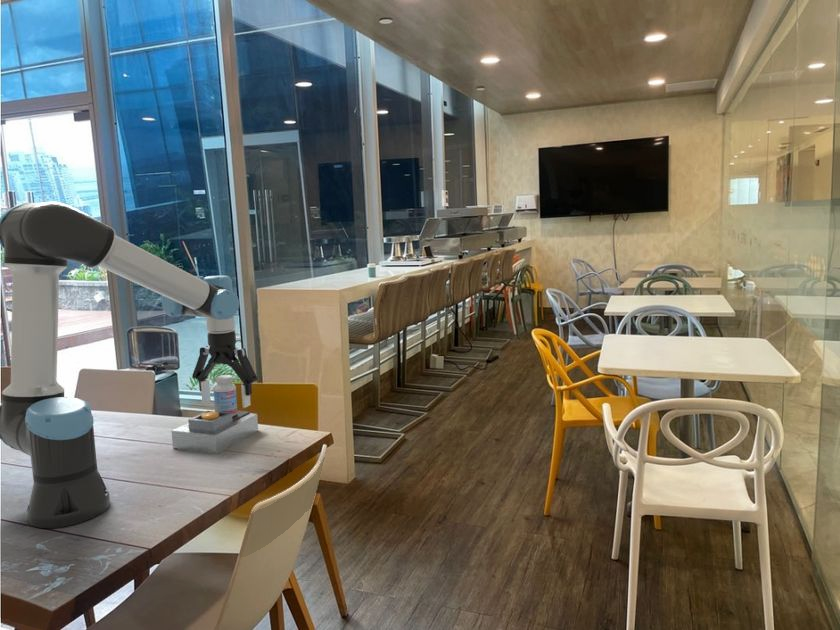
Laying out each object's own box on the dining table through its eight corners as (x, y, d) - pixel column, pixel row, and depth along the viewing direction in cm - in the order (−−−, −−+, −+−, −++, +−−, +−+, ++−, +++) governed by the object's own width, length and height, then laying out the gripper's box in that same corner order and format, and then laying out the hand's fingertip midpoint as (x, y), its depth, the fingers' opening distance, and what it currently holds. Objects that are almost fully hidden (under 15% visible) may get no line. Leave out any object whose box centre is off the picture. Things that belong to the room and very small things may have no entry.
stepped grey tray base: (216, 453, 161) (214, 424, 159) (172, 448, 165) (170, 419, 164) (258, 430, 178) (256, 403, 177) (217, 426, 183) (216, 400, 182)
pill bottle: (223, 419, 171) (221, 380, 170) (210, 416, 175) (208, 377, 173) (242, 414, 176) (239, 376, 174) (229, 410, 180) (226, 373, 178)
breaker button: (213, 444, 165) (211, 417, 164) (200, 443, 166) (198, 416, 165) (224, 439, 169) (222, 412, 168) (210, 437, 170) (208, 411, 169)
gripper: (267, 330, 171) (271, 404, 175) (193, 327, 180) (198, 397, 183) (251, 335, 164) (256, 411, 168) (175, 331, 173) (181, 404, 176)
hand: (226, 404), depth 175 cm, fingers open, 13 cm apart
